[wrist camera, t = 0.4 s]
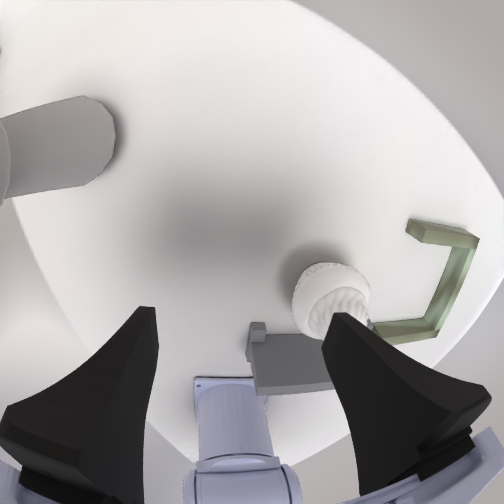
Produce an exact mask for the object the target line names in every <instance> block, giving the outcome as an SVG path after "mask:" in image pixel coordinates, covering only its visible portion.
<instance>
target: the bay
mask: <svg viewBox="0 0 504 504" xmlns="http://www.w3.org/2000/svg"><path fill="white" fill-rule="evenodd" d="M406 232H407V233H408V234H410V235H411V236H413V237H414V238H416V239H417V240H418V241H420V242H421V243H428V244H436V245H444V246H452V247H453V249H452V252H451V254H450V257H449V260H448V263H447V265H446V268H445V270H444V273H443V275H442V278H441V280H440V283H439V285H438V288H437V290H436V292H435V294H434V297H433V299H432V301H431V303H430V305H429V308H428V310H427V312H426V314H425V316H424V318H420V319H411V320H402V321H392V322H381V323H372V324H373V325H374V326H373V329H372V331H373V332H374V333H375V334H377V335H378V336H379V337H381V338H382V339H383V340H385V341H386V342H387V343H389V344H390V345H397V344H403V343H409V342H414V341H420V340H425V339H430V338H435V337H436V336H437V335H438V333H439V331H440V329H441V327H442V326H443V324H444V322H445V320H446V318H447V316H448V314H449V312H450V310H451V308H452V306H453V304H454V302H455V300H456V298H457V295H458V293H459V291H460V289H461V286H462V284H463V282H464V280H465V277H466V275H467V272H468V270H469V267H470V265H471V262H472V259H473V257H474V254H475V251H476V248H477V245H478V243H479V240H480V239H479V238H478V237H476V236H474V235H473V234H471V233H470V232H468V231H466V230H464V229H459V228H454V227H449V226H444V225H439V224H434V223H429V222H424V221H418V220H412V219H409V222H408V226H407V229H406Z"/></svg>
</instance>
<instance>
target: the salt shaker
mask: <svg viewBox="0 0 504 504" xmlns="http://www.w3.org/2000/svg"><path fill="white" fill-rule="evenodd" d="M115 138H116V134H115V128H114V123H113V117H112V116H111V114H110V113H109V112H108V111H107V110H106V108H105V107H104V106H103V105H102V104H101V103H100V102H99V101H96V100H93V99H91V98H88V97H86V96H78V97H73V98H69V99H64V100H60V101H56V102H52V103H48V104H44V105H41V106H37V107H34V108H30V109H27V110H24V111H21V112H18V113H15V114H12V115H9V116H6V117H3V118H1V119H0V206H1V205H2V203H3V200H4V199H6V198H11V197H16V196H21V195H26V194H32V193H38V192H43V191H50V190H56V189H63V188H70V187H77V186H84V185H86V184H87V183H89V182H90V181H91V180H93V179H94V178H96V177H97V176H99V175H100V174H101V173H102V171H103V170H104V168H105V167H106V165H107V163H108V162H109V160H110V159H111V158H112V156H113V150H114V144H115Z"/></svg>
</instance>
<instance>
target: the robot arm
mask: <svg viewBox="0 0 504 504" xmlns="http://www.w3.org/2000/svg"><path fill="white" fill-rule="evenodd" d="M158 350H159V342H158V333H157V324H156V313H155V307H145V306H139V307H138V308H137V309H136V310H135V312H134V313H133V314H132V315H131V316H130V317H129V319H128V320H127V321H126V322H125V323H124V324H123V325H122V326H121V328H120V329H119V330H118V331H117V332H116V333H115V334H114V335H113V336H112V337H111V338H110V339H109V340H108V341H107V342H106V343H105V344H104V345H103V346H102V347H101V348H100V349H99V350H98V351H97V352H96V353H95V354H94V355H93V356H92V357H90V358H89V359H88V360H87V361H86V362H85V363H83V364H82V365H81V366H80V367H78V368H77V369H76V370H74V371H73V372H72V373H70V374H69V375H67V376H66V377H64V378H63V379H61V380H60V381H58V382H57V383H55V384H53V385H52V386H50V387H48V388H47V389H45V390H43V391H41V392H39V393H37V394H35V395H33V396H31V397H29V398H26V399H24V400H21V401H19V402H17V403H14V404H12V405H9V406H7V408H6V410H5V412H4V415H3V417H2V420H1V422H0V446H1V447H2V448H3V449H4V450H5V451H6V452H7V453H8V454H10V455H11V456H12V457H13V458H14V459H15V460H16V461H18V462H19V463H20V464H21V465H22V470H21V472H20V471H19V470H17V469H16V468H14V467H12V466H11V465H9V464H7V463H5V462H3V461H2V460H0V504H144V488H143V445H144V429H145V419H146V413H147V408H148V403H149V399H150V394H151V390H152V385H153V381H154V376H155V372H156V367H157V359H158ZM321 350H322V354H323V358H324V361H325V365H326V368H327V371H328V373H329V376H330V378H331V380H332V383H333V385H334V387H335V390H336V392H337V394H338V397H339V399H340V402H341V404H342V406H343V409H344V412H345V414H346V418H347V421H348V425H349V429H350V432H351V437H352V441H353V446H354V450H355V456H356V463H357V469H358V480H359V494H360V496H361V497H358V498H355V499H352V500H349V501H345V502H342V503H338V504H387V503H388V504H470V503H471V502H472V501H473V500H474V499H475V498H476V497H477V495H479V494H480V493H481V492H482V490H483V489H484V488H485V487H486V486H487V485H488V484H489V483H490V482H491V481H492V480H493V479H494V478H495V477H496V476H497V475H498V474H499V473H500V472H501V471H502V470H503V469H504V448H503V446H502V445H501V443H500V441H499V440H498V438H497V436H496V435H495V433H494V432H493V430H492V428H491V427H490V426H488V427H487V428H485V429H484V430H483V431H481V432H480V433H478V434H477V435H476V436H475V437H473V438H472V439H471V437H470V436H469V434H471V433H472V429H471V427H470V425H471V424H472V423H473V422H474V421H475V420H476V419H477V418H478V417H479V416H480V415H481V414H482V413H483V411H484V410H485V409H486V408H487V407H488V405H489V404H490V402H491V399H492V397H491V395H490V394H489V393H488V391H487V390H486V389H485V388H484V386H482V385H479V384H475V383H470V382H466V381H462V380H459V379H456V378H452V377H450V376H447V375H445V374H442V373H440V372H437V371H435V370H433V369H431V368H429V367H427V366H425V365H423V364H421V363H419V362H417V361H415V360H414V359H412V358H410V357H408V356H407V355H405V354H404V353H402V352H400V351H399V350H398V349H396V348H395V347H393V346H392V345H390V344H389V343H387V342H386V341H385V340H383V339H382V338H381V337H379V336H378V335H377V334H375V333H374V332H373V331H371V330H370V329H369V328H367V327H366V326H365V325H364V324H362V323H361V322H360V321H358V320H357V319H356V318H354V317H353V316H351V315H350V314H348V313H347V312H334V313H333V316H332V319H331V322H330V325H329V328H328V330H327V333H326V336H325V339H324V341H323V344H322V347H321ZM194 395H195V412H196V422H197V423H198V429H199V461H197V462H196V464H197V470H194V469H190V470H189V472H188V473H187V474H185V476H184V480H183V503H184V504H302V492H301V487H300V483H299V479H298V477H297V474H296V472H295V471H294V469H292V468H291V467H289V466H288V465H287V464H281V465H280V460H279V457H278V456H277V457H274V452H273V447H272V442H271V437H270V432H269V427H268V422H267V417H266V412H265V407H264V405H265V401H266V398H267V396H256V391H255V385H254V379H253V378H243V379H228V378H195V379H194Z"/></svg>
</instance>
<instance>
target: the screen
mask: <svg viewBox="0 0 504 504" xmlns="http://www.w3.org/2000/svg"><path fill="white" fill-rule="evenodd" d="M367 323H368V324H367V326H366V327H367V328H369V329H370V330H371V331H372V329H373V326H374V325H373V324H372V323H371V321H370V320H367ZM266 331H267V330H266V326H265V323H251V326H250V333H249V339H248V345H247V352H246V357H247V362H251V367H252V373H253V379H254V385H255V391H256V396H270V395H285V394H297V393H307V392H316V391H325V390H332V389H335V387H334V385H333V383H332V380H331V378H330V376H329V373H328V371H327V368H326V365H325V361H324V358H323V354H322V350H321V347H322V344H323V340H321V339H314V338H311V337H308V336H306V335H305V334H283V335H266Z"/></svg>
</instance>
